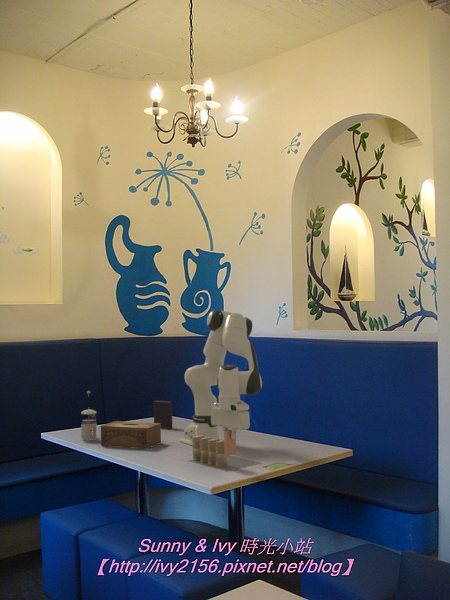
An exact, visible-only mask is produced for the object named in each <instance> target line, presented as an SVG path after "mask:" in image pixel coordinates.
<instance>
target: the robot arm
mask: <svg viewBox="0 0 450 600" xmlns="http://www.w3.org/2000/svg"><path fill="white" fill-rule="evenodd" d="M206 318H207V319H206V326H207V328H208V329H209V330H210V332H209V334H208V337H207V340H206V343H204V344H205V345H204V348H203V355H204V356H205V360H204V363H203V364H196V365H193V366H191V367H189V368H187V369H186V371H185V373H184V376H183V377H184V382H185V384H186V385H187V386H188V387H189V388H190V390H191V392H192V395H193V398H194V415H192V416H191V418H193V419H192V422H191V423H190V424H189V425H188V426H186V428H184V431H183V437H181V438H179V439H178V441H179V442H180V443H183V444H187V445H189V446H192V447H193V437H196V436H204V438H206V437H211V438H212V439H219V441H222V438H221V433H220V427H222V431H223V432H224V431H225V430H230V429H231V431H232V433H231V434H230V439H235V434H236V435H237V432H238V430H240V431H244V430H245V431H246V430H249V428H250V426H251V422H250V421H251V419H250V412H249V411H248V410H249V409H250V405H249V404H248V403H246V402H245V401H244V400H241V395H250V396H251V395H252V396H255V395H257V394H258V393H259V392H261V390H262V388H263V387H262V386H263V381H262V377H261V374H260V371H259V364H258V360H257V359H258V357H257V353H256V349H255V345H254V344H253V342H252V341H250V340H249V339H248V338H249V337H250V335H251V334H252V332H253V331H252V330H253V321H252V320H251V319H250V318H249V317H247V316H244V315H243V314H240V313H238V312H230V311H225V310H221V309H215V308H214V309H211V311H210V313H209V314H208V316H207V317H206ZM227 352H229V353H230V354H233V355H237V356H240V357H243V358H244V359H246V360H247V363H248V369H249V370H247V371H244V370H243V371H242V370H241V371H239V368H238V366H237V365H236V364H231V363H229V364H225V358H226V356H227ZM212 386H213V387H214V386H216V389H217V390H218V391H219V395H218V398H217V397H216V396H215V395H214V394H213V392H212V388H211V387H212Z"/></svg>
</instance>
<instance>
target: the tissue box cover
mask: <svg viewBox="0 0 450 600" xmlns="http://www.w3.org/2000/svg"><path fill="white" fill-rule="evenodd" d="M161 437H162V428H161V423H154V422H140V421H139V422H138V421H125V420H124V421H121V420H115V421H111V422H108V423H106V424H101V425H100V446H101V445H103V446H104V447H115V446H122V447H121V448H130V447H138V448H137V449H144V448H148V449H150V448H152V447H151V446H153V447H155V446H157V445H159V444H158V443H160V444H162V438H161ZM156 444H157V445H156ZM154 445H155V446H154ZM103 446H102V447H103ZM149 447H150V448H149Z"/></svg>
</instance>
